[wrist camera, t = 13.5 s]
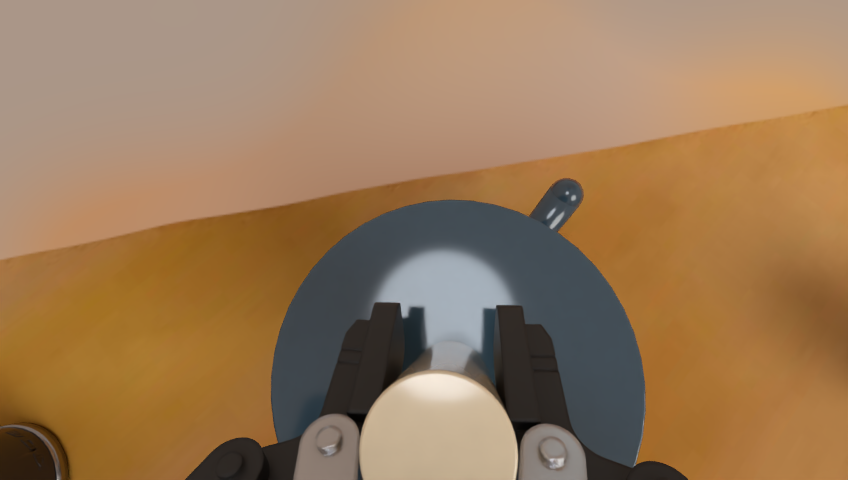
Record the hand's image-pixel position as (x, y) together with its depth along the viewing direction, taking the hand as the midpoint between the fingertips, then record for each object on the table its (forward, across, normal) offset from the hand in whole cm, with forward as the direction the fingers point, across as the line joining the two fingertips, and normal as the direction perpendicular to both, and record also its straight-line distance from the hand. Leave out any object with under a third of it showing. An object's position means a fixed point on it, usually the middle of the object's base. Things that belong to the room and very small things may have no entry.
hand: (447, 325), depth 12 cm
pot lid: (+1, 0, +4) cm, 4 cm away
